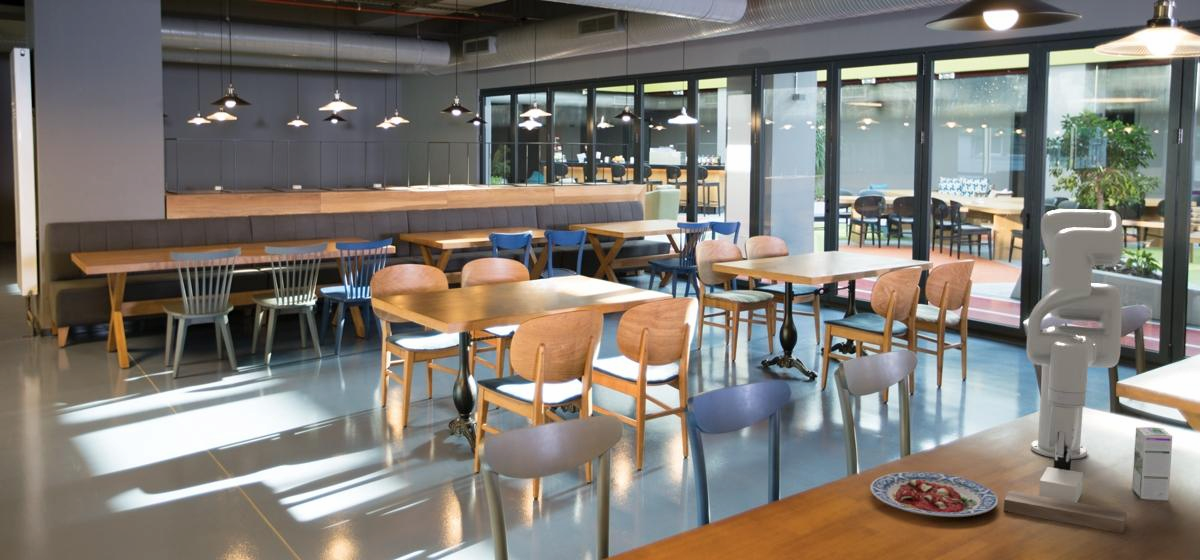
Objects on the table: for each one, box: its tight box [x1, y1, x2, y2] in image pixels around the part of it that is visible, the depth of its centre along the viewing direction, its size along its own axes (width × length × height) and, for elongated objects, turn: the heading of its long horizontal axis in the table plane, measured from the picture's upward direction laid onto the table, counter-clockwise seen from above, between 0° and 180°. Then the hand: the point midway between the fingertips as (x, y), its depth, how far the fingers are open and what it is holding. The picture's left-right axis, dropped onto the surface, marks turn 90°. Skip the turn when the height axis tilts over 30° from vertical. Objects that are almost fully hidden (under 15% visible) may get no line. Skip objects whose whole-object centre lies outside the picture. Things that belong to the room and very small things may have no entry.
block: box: [1038, 466, 1084, 503], centre depth 207 cm, size 10×7×5 cm
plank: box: [1003, 490, 1128, 534], centre depth 197 cm, size 6×22×2 cm, turn 57°
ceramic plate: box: [870, 471, 999, 518], centre depth 206 cm, size 26×26×3 cm
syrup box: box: [1132, 426, 1173, 501], centre depth 207 cm, size 6×6×14 cm
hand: (1061, 476), depth 214 cm, fingers closed
